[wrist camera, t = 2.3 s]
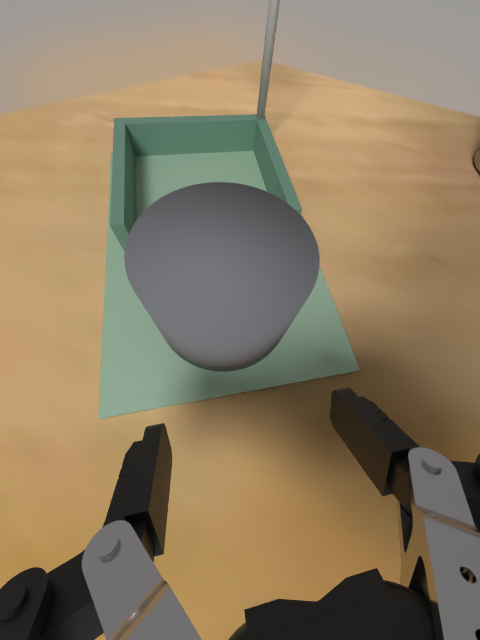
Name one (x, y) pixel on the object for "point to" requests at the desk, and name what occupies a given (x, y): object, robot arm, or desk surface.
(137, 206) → the mini golf green
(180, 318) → the grey domed cylinder
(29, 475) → the desk surface
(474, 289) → the desk surface
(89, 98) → the desk surface
